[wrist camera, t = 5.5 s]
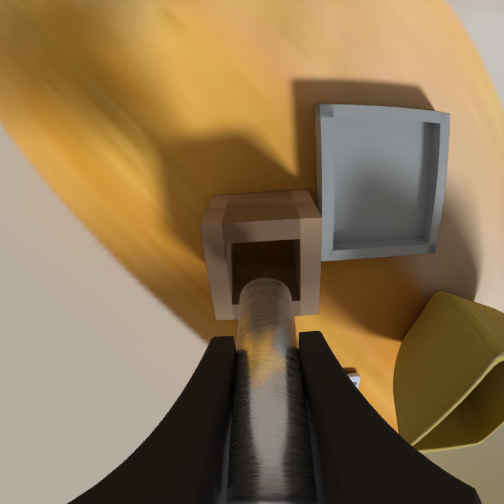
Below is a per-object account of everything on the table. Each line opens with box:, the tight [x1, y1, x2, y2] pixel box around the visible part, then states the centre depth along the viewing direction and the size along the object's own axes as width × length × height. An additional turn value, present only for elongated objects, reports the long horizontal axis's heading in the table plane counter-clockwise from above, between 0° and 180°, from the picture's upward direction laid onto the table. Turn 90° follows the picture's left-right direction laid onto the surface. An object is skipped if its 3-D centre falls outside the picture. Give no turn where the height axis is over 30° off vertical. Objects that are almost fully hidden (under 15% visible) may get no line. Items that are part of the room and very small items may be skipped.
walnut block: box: [200, 190, 322, 320], centre depth 16 cm, size 5×5×4 cm
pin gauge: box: [226, 278, 317, 504], centre depth 9 cm, size 2×2×8 cm
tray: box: [314, 104, 450, 261], centre depth 15 cm, size 8×7×2 cm
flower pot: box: [393, 291, 504, 453], centre depth 17 cm, size 9×9×9 cm
